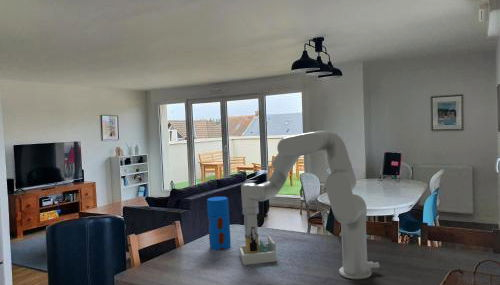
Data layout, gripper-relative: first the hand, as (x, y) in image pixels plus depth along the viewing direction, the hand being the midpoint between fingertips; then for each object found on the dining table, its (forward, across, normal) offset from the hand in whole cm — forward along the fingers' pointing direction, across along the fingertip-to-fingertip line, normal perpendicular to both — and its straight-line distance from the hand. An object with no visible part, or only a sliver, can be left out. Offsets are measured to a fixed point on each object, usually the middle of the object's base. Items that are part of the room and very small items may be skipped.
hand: (252, 248), depth 178 cm
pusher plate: (+4, 0, +5) cm, 6 cm away
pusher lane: (+5, 0, +2) cm, 5 cm away
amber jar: (+1, 0, 0) cm, 1 cm away
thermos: (+5, -22, -13) cm, 26 cm away
